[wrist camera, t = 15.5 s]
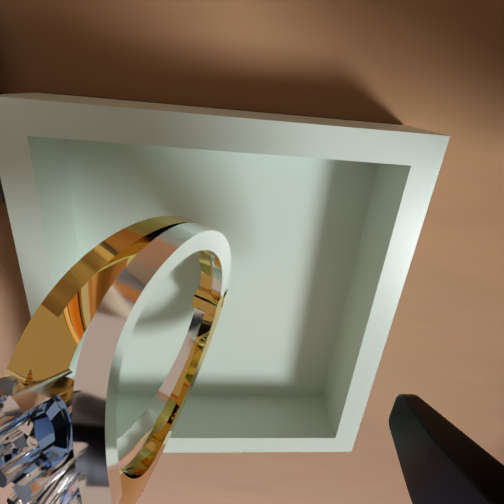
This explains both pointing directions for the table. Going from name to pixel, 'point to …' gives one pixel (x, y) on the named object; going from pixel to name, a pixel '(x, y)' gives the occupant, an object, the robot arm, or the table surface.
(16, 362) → the ring
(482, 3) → the table surface
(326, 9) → the table surface
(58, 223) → the tray
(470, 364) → the table surface
